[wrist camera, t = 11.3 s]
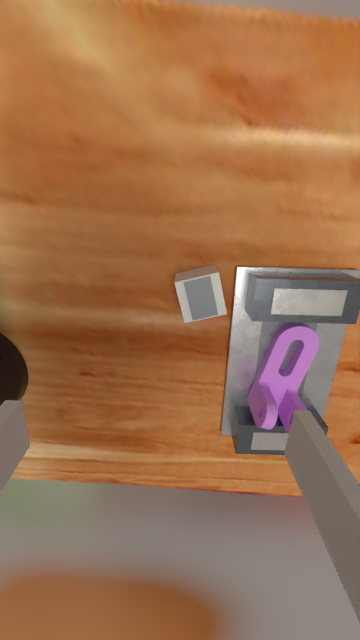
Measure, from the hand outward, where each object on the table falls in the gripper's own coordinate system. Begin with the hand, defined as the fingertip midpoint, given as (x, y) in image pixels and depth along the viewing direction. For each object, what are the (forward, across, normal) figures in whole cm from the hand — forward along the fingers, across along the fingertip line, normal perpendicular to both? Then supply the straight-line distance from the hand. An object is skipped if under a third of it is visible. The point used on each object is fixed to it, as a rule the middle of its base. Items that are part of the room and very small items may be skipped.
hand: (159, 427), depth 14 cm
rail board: (+24, +16, -9) cm, 30 cm away
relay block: (+25, +4, +1) cm, 25 cm away
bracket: (+23, +16, -9) cm, 29 cm away
